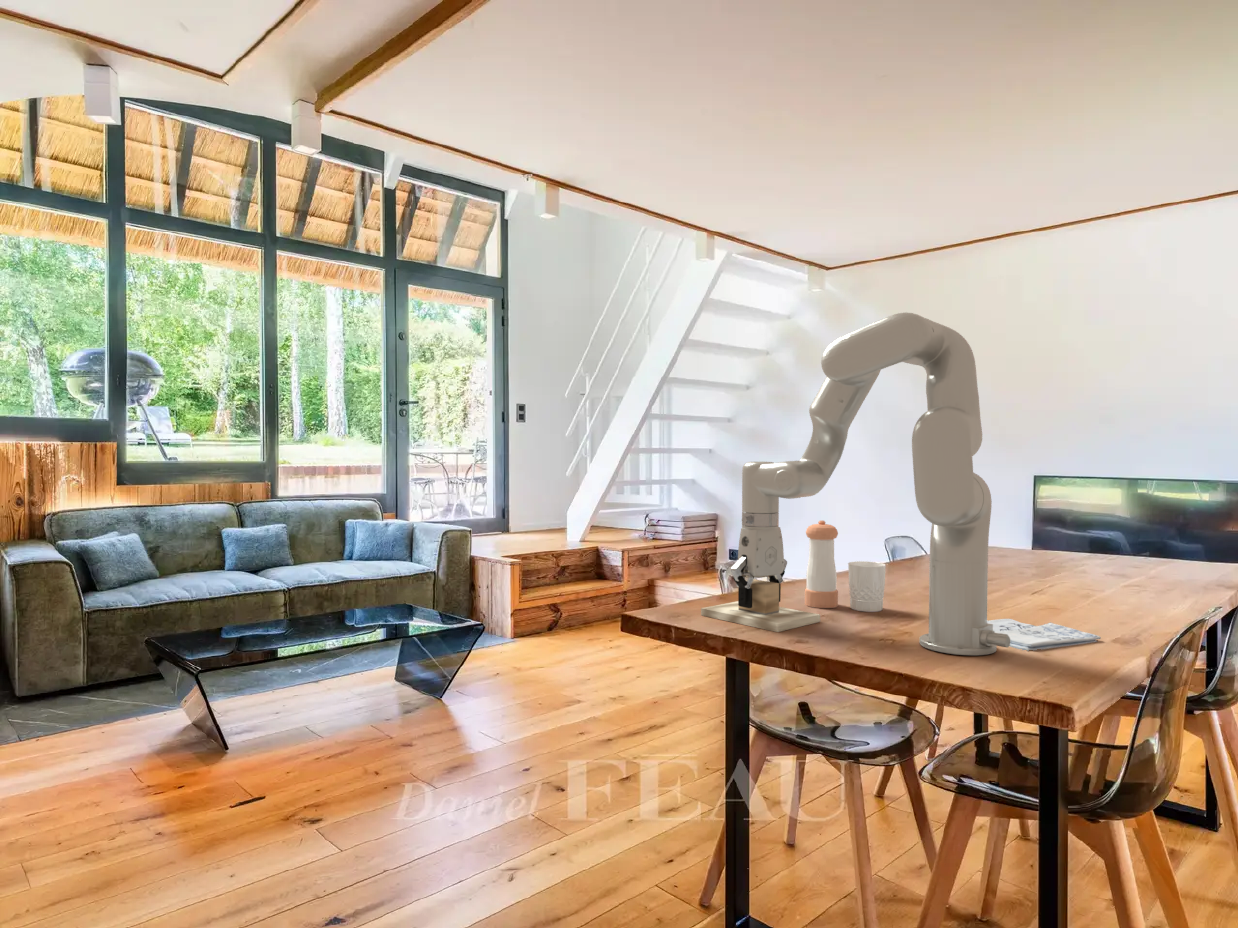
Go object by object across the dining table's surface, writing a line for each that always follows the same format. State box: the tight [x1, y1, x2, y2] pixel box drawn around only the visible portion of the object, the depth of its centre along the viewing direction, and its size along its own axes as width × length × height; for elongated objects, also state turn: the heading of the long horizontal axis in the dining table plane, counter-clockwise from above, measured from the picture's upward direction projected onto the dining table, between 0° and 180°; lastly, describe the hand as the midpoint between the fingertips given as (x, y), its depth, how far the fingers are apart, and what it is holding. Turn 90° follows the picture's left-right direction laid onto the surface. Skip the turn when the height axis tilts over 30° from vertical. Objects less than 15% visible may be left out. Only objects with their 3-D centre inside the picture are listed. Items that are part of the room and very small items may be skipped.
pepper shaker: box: [804, 520, 839, 609], centre depth 177 cm, size 7×7×19 cm
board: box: [700, 600, 821, 633], centre depth 163 cm, size 20×14×2 cm
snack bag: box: [987, 618, 1102, 652], centre depth 150 cm, size 19×20×2 cm
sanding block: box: [739, 578, 780, 615], centre depth 163 cm, size 7×4×6 cm, turn 41°
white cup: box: [847, 560, 887, 613], centre depth 173 cm, size 8×8×10 cm
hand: (759, 603), depth 163 cm, fingers open, 8 cm apart
